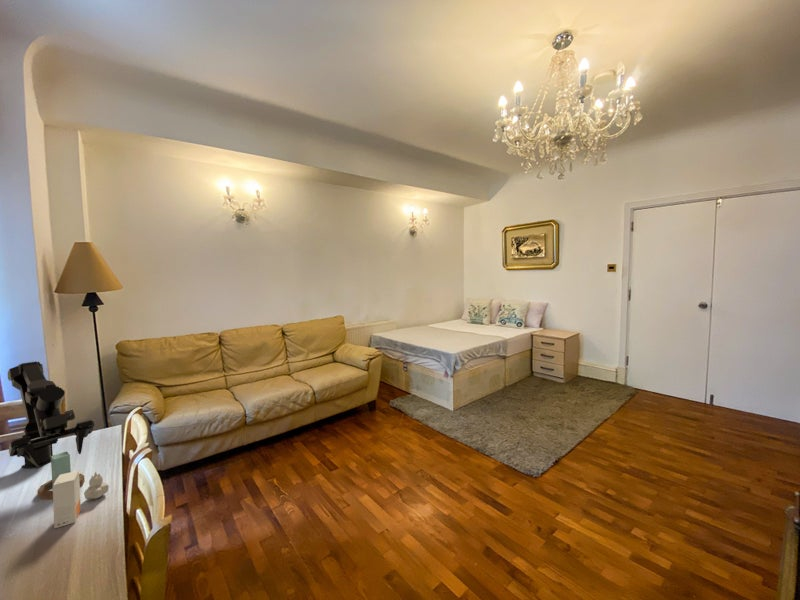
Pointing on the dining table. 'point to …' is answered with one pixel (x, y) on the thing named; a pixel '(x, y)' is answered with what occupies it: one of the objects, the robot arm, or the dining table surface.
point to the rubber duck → (96, 487)
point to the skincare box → (66, 499)
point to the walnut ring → (49, 494)
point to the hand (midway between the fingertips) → (60, 459)
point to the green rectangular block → (60, 465)
